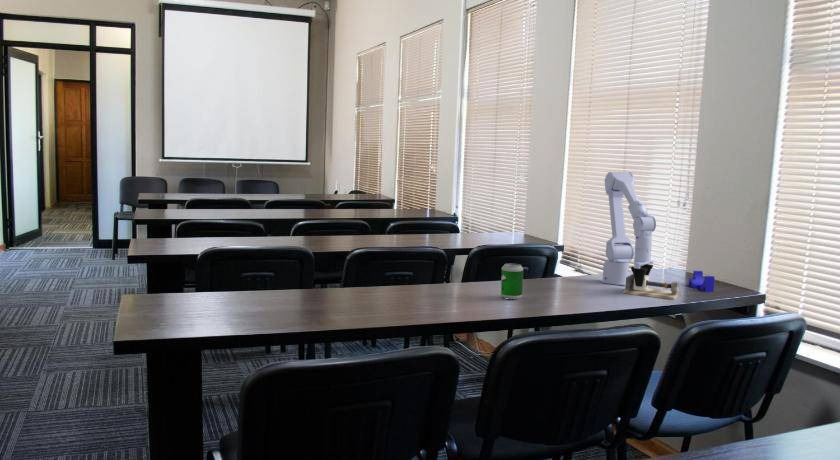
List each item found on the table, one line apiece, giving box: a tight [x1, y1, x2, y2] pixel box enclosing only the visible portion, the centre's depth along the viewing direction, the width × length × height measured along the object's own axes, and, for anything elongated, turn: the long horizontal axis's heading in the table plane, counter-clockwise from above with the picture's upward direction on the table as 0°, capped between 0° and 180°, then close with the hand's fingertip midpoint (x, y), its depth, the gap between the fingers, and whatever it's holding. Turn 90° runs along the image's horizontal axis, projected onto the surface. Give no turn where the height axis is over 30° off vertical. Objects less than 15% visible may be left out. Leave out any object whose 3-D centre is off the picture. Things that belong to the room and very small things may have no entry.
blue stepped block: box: [688, 270, 715, 293], centre depth 251 cm, size 12×4×6 cm, turn 0°
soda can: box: [500, 263, 524, 300], centre depth 231 cm, size 8×8×12 cm
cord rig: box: [623, 273, 681, 301], centre depth 240 cm, size 18×10×6 cm, turn 56°
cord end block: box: [634, 274, 650, 291], centre depth 242 cm, size 4×5×5 cm
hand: (641, 284), depth 243 cm, fingers open, 5 cm apart
